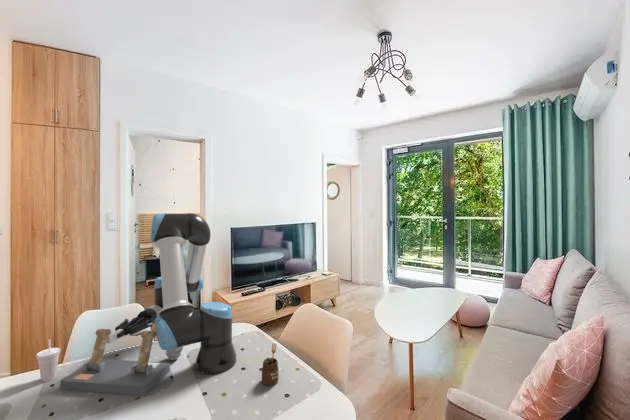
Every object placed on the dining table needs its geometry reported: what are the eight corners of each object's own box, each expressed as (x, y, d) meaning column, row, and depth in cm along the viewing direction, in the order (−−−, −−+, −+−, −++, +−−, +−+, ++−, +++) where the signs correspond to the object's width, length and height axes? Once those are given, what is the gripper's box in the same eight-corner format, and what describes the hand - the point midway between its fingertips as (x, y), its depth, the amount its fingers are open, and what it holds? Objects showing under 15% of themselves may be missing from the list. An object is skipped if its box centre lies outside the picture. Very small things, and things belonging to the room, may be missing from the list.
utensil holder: (258, 384, 99) (258, 350, 99) (267, 374, 105) (267, 342, 105) (273, 387, 98) (274, 352, 97) (281, 377, 104) (281, 344, 103)
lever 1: (103, 369, 103) (113, 329, 107) (98, 370, 101) (108, 329, 105) (89, 368, 103) (100, 328, 108) (83, 369, 101) (95, 328, 106)
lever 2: (150, 372, 101) (158, 331, 105) (146, 373, 99) (154, 331, 103) (136, 371, 102) (144, 330, 106) (131, 372, 100) (140, 331, 104)
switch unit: (169, 370, 107) (169, 356, 107) (144, 395, 93) (144, 378, 93) (96, 366, 110) (96, 352, 110) (60, 389, 96) (60, 373, 96)
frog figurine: (179, 363, 112) (179, 346, 112) (161, 363, 113) (161, 345, 113) (186, 355, 118) (186, 338, 118) (170, 355, 119) (170, 338, 119)
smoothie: (45, 385, 98) (45, 344, 98) (31, 383, 100) (30, 343, 99) (65, 374, 105) (65, 336, 104) (51, 372, 106) (51, 334, 106)
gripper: (163, 324, 131) (124, 350, 108) (136, 323, 133) (92, 348, 109) (163, 308, 131) (124, 330, 108) (136, 307, 133) (92, 329, 109)
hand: (108, 339), depth 109 cm, fingers closed
